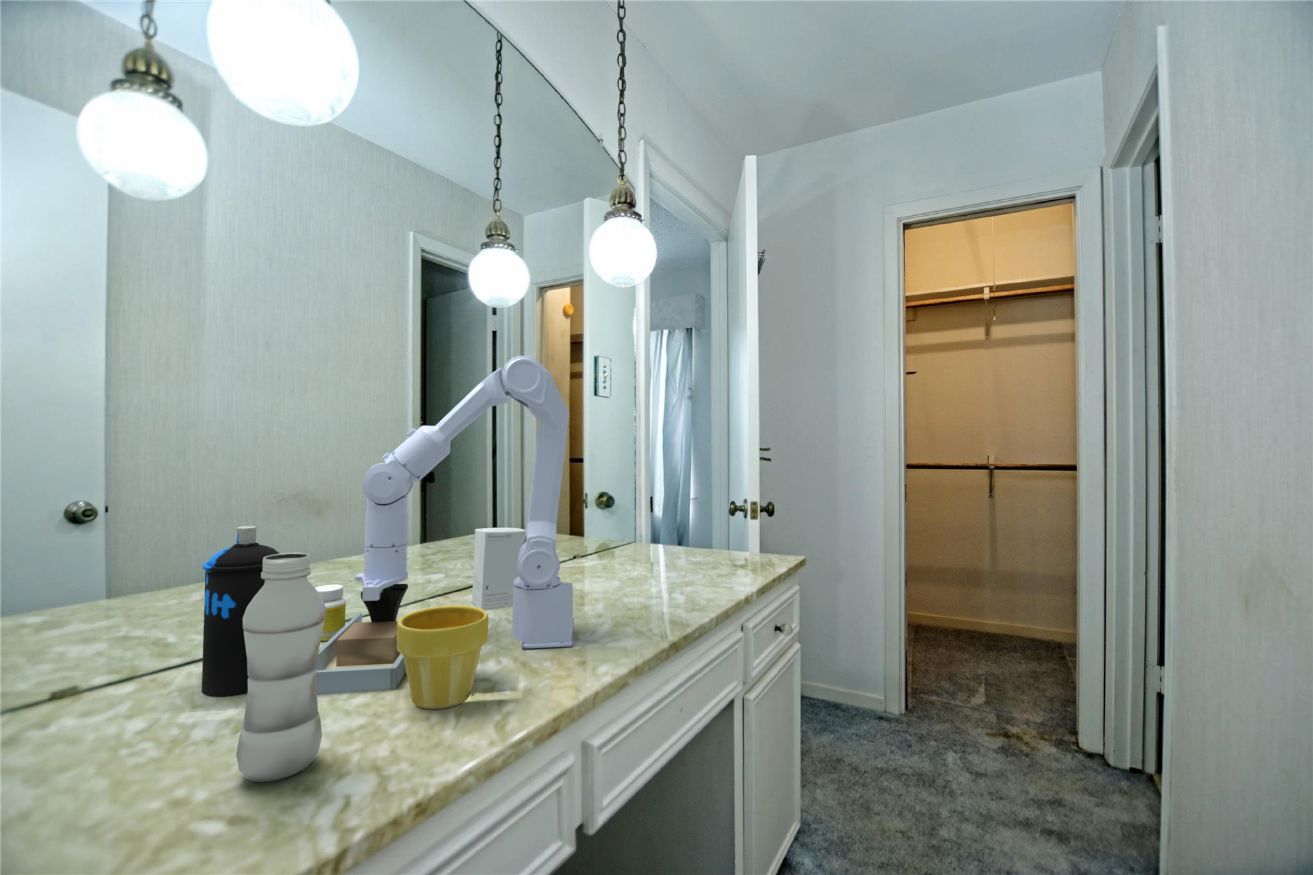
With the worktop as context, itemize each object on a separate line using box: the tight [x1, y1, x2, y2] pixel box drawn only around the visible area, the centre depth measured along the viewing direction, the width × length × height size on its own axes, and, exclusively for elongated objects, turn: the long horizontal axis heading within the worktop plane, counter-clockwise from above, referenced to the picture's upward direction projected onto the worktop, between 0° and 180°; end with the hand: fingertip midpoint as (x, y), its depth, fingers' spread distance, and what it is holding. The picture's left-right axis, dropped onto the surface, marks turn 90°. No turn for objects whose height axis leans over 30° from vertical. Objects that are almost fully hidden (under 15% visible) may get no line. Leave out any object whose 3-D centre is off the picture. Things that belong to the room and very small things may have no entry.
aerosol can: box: [201, 525, 281, 698], centre depth 69 cm, size 8×8×20 cm
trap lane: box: [316, 612, 407, 695], centre depth 79 cm, size 16×24×4 cm
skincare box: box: [471, 527, 526, 611], centre depth 105 cm, size 8×6×15 cm
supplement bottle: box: [314, 584, 346, 643], centre depth 85 cm, size 5×5×8 cm
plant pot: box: [397, 605, 489, 710], centre depth 68 cm, size 10×10×10 cm
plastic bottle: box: [235, 552, 326, 783], centre depth 53 cm, size 6×7×20 cm
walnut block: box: [336, 620, 400, 666], centre depth 78 cm, size 7×7×4 cm
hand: (383, 636), depth 83 cm, fingers closed
